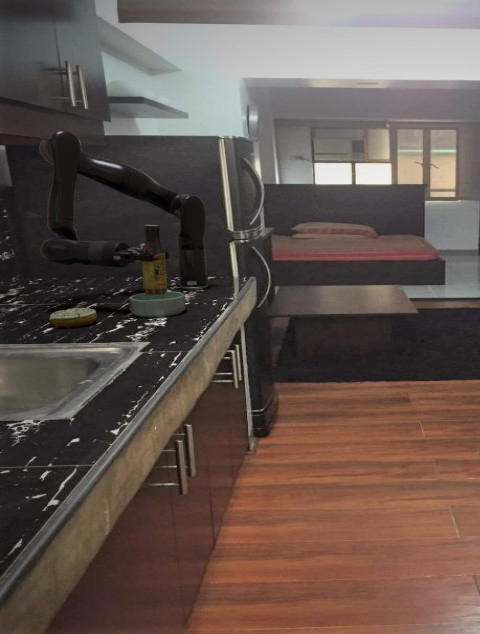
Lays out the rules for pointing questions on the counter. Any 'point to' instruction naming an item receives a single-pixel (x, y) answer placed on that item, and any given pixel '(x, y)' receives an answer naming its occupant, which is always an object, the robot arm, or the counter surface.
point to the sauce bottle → (154, 263)
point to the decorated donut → (73, 317)
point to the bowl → (157, 304)
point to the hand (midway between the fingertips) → (160, 256)
